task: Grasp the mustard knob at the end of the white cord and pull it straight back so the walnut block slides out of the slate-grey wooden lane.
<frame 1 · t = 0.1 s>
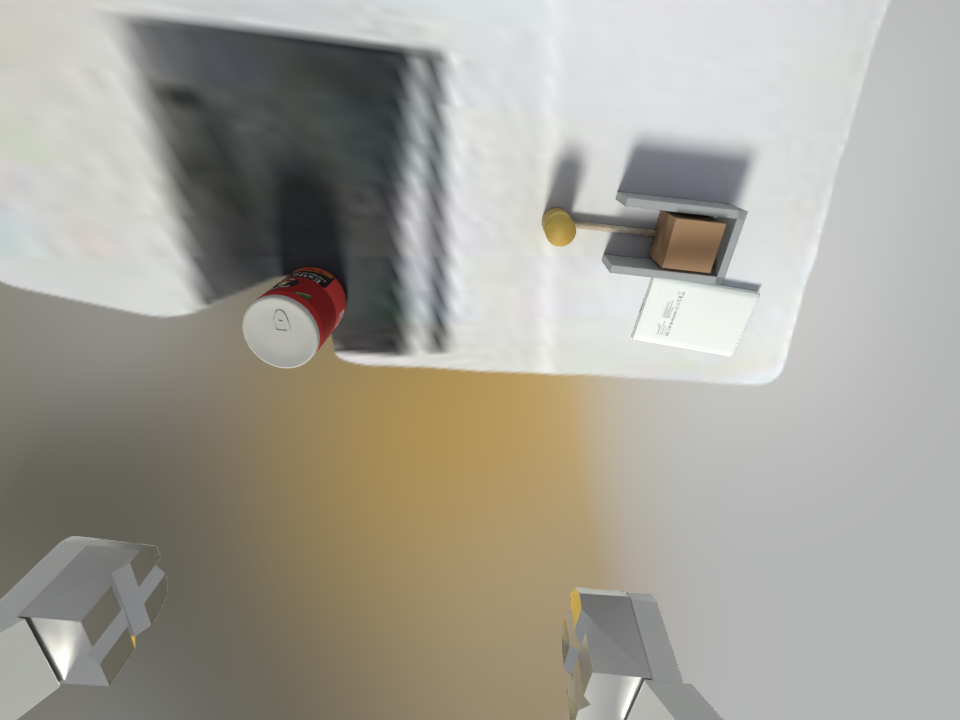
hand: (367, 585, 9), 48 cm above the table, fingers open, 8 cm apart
external hard drive: (689, 312, 58), on the table
canned food: (317, 296, 58), on the table
lane: (663, 233, 53), on the table
towed block: (626, 234, 50), point 3 cm above the table, slide at 0.0 cm
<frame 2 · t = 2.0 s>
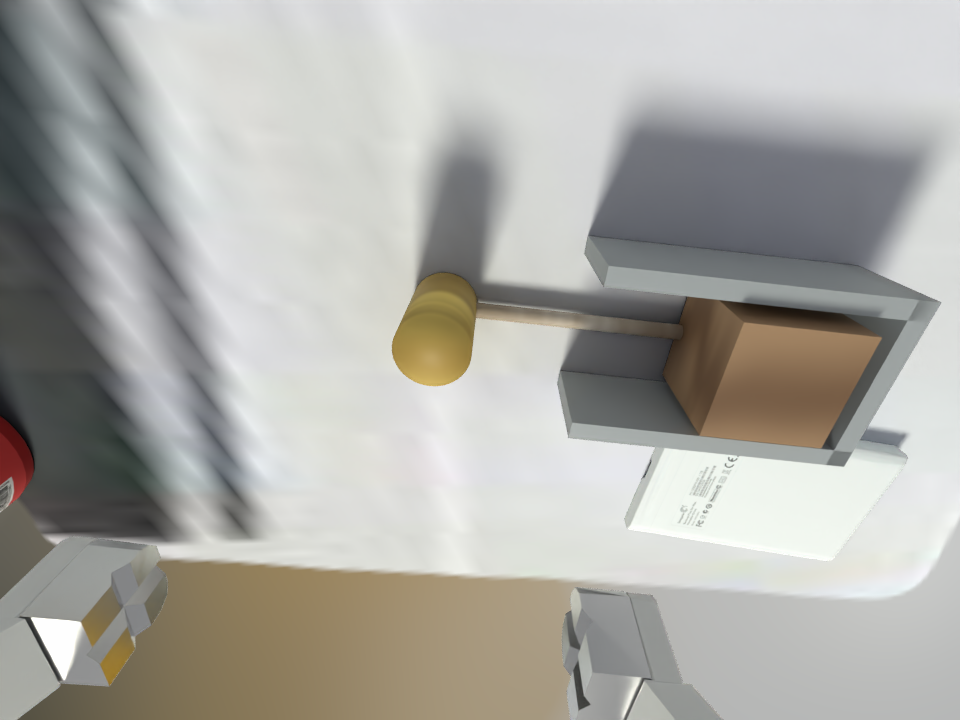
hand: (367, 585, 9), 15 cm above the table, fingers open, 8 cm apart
external hard drive: (745, 475, 28), on the table
lane: (696, 329, 23), on the table
towed block: (609, 343, 20), point 3 cm above the table, slide at 0.0 cm
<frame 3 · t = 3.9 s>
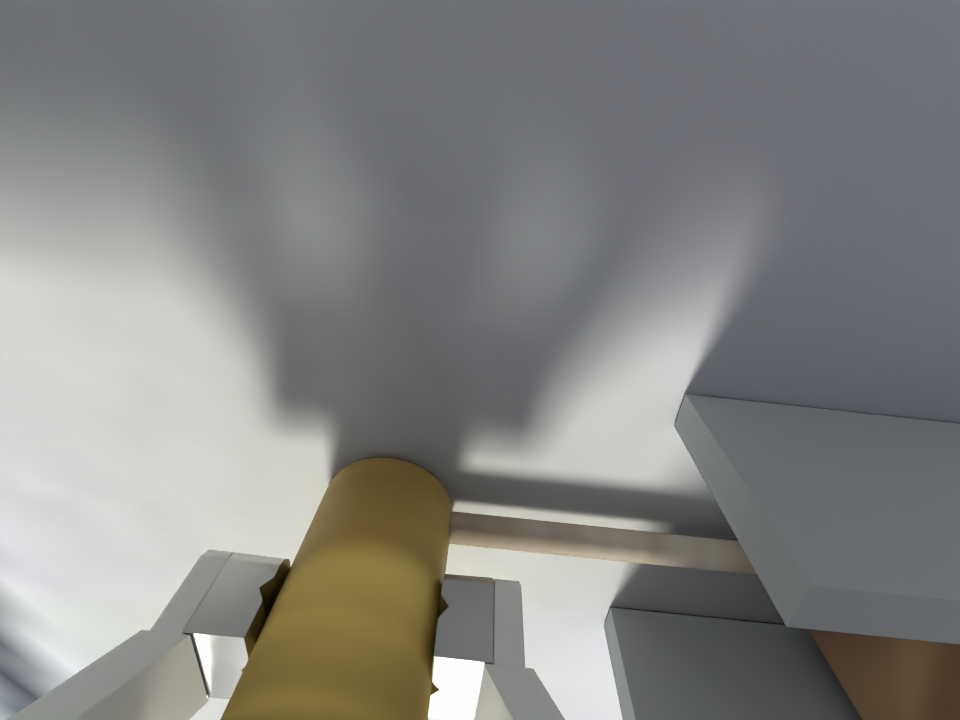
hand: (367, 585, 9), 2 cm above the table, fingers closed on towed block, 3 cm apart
lane: (881, 552, 12), on the table
towed block: (738, 641, 9), point 3 cm above the table, slide at 0.0 cm, touching gripper
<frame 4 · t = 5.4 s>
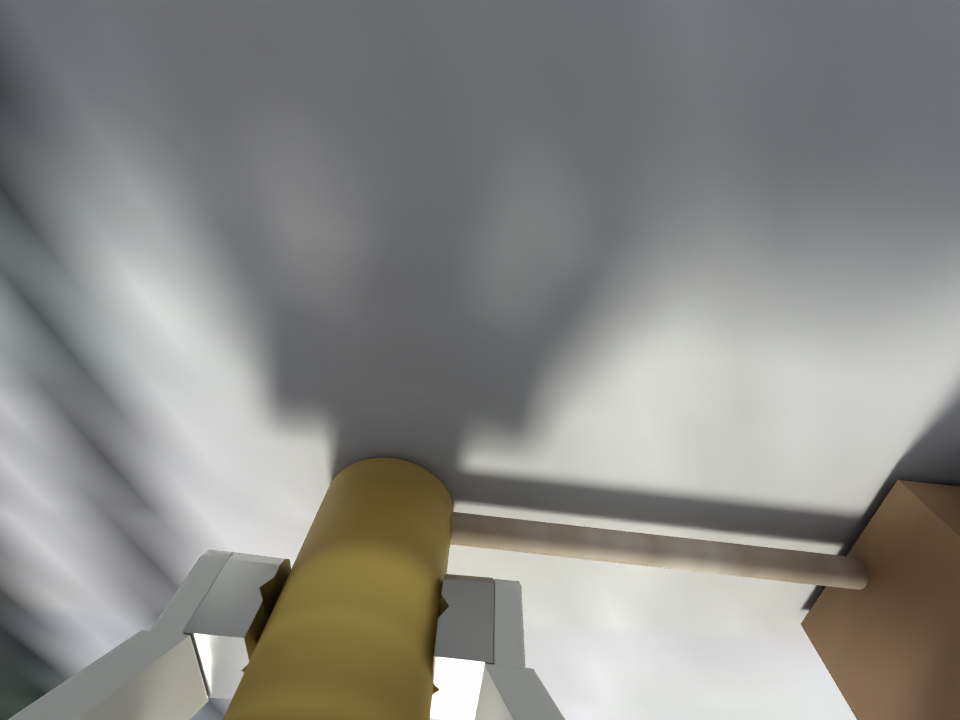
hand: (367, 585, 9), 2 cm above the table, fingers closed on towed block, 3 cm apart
towed block: (737, 644, 9), point 3 cm above the table, slide at 6.5 cm, touching gripper
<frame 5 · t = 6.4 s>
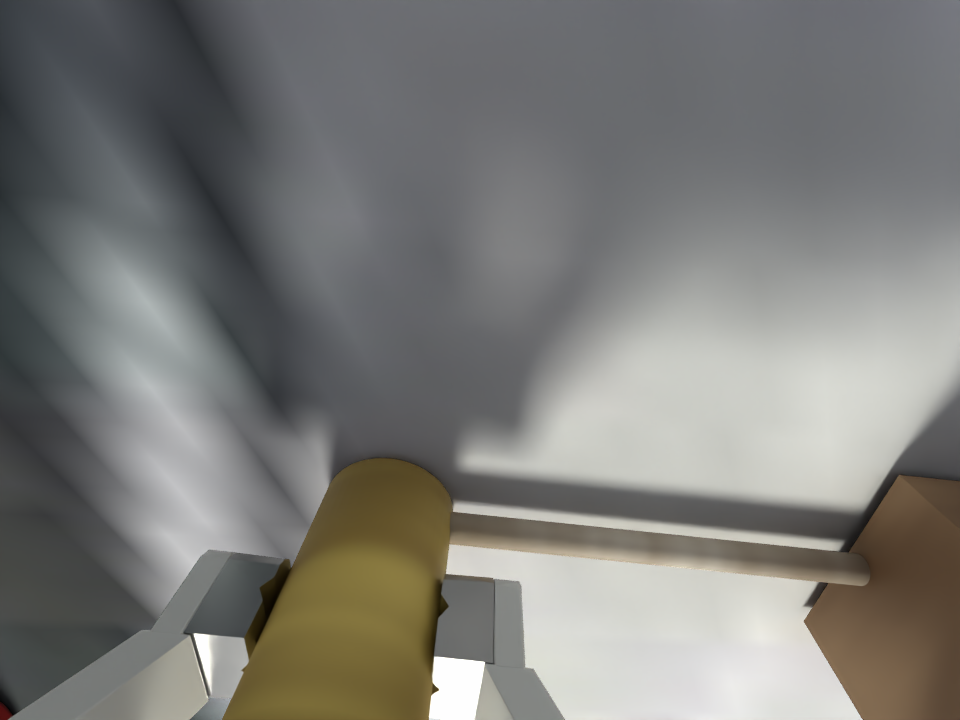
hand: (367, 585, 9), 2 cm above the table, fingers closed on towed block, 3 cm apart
towed block: (738, 642, 9), point 3 cm above the table, slide at 10.4 cm, touching gripper
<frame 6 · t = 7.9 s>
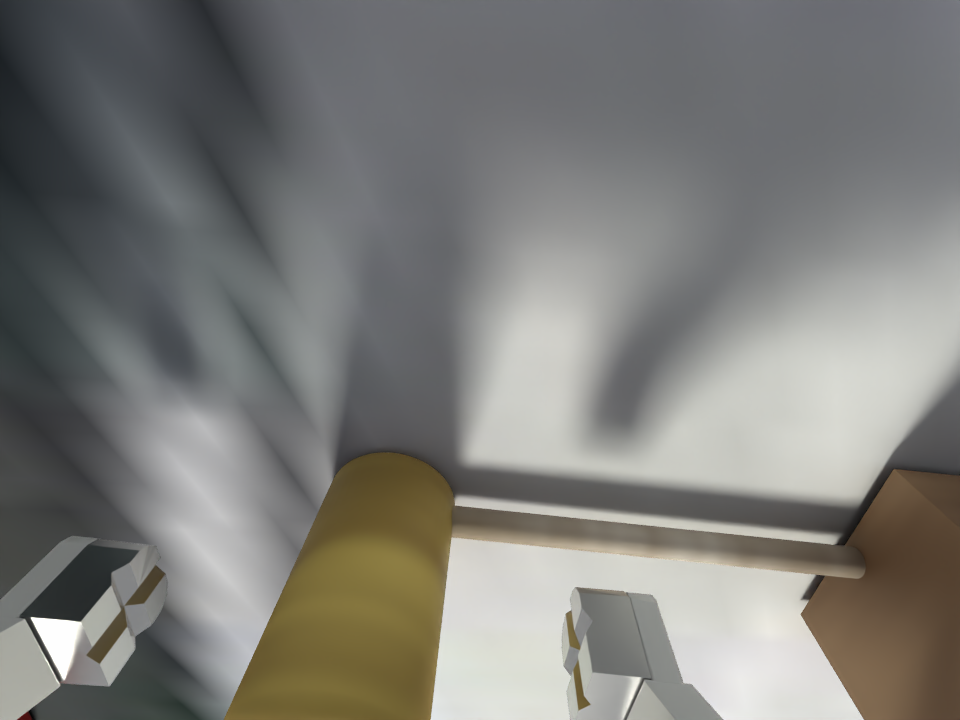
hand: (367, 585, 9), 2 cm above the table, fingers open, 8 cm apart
towed block: (735, 632, 9), point 3 cm above the table, slide at 10.7 cm
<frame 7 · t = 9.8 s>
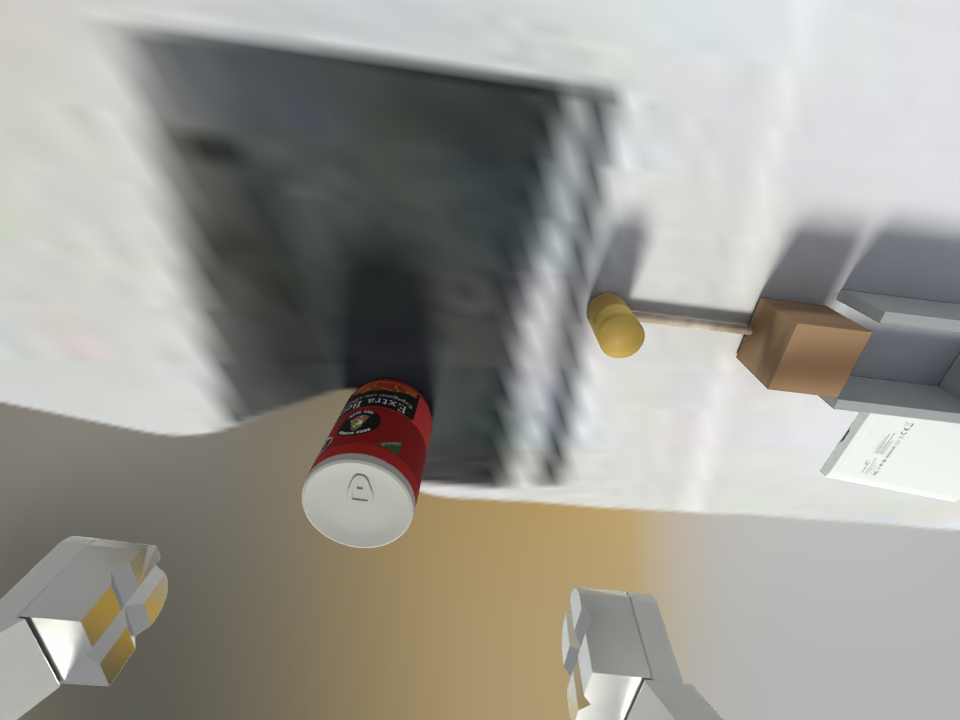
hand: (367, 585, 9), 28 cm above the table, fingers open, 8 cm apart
external hard drive: (904, 442, 42), on the table
canned food: (390, 414, 42), on the table
lane: (894, 345, 37), on the table
towed block: (712, 335, 34), point 3 cm above the table, slide at 10.7 cm
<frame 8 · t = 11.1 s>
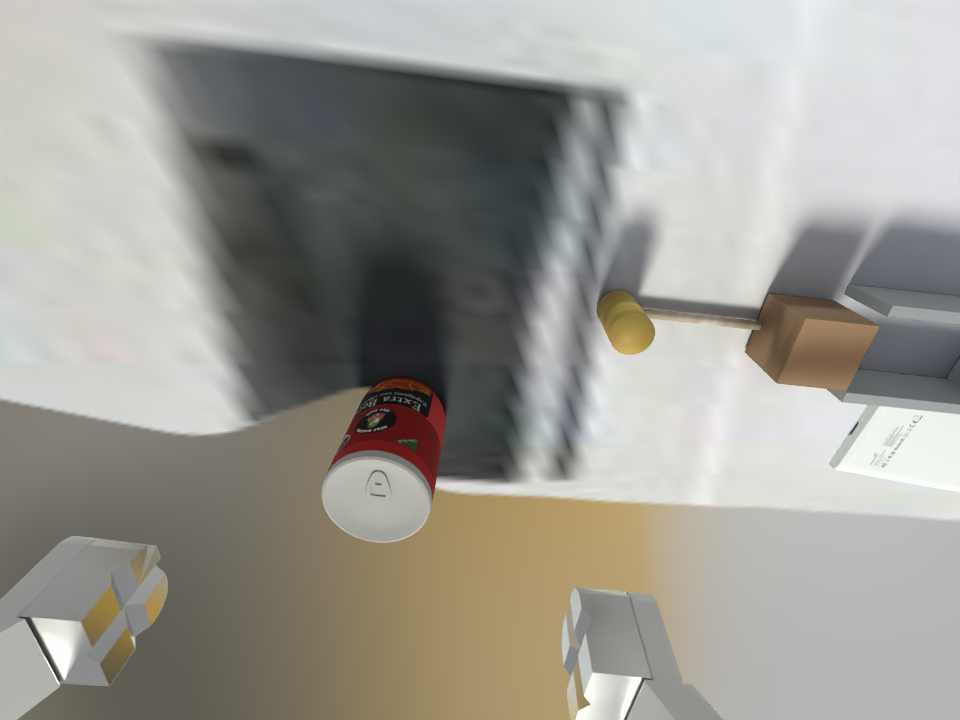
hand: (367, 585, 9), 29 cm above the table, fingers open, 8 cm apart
external hard drive: (912, 434, 43), on the table
canned food: (404, 412, 43), on the table
lane: (902, 338, 38), on the table
towed block: (722, 331, 35), point 3 cm above the table, slide at 10.7 cm
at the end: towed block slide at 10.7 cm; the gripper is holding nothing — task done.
